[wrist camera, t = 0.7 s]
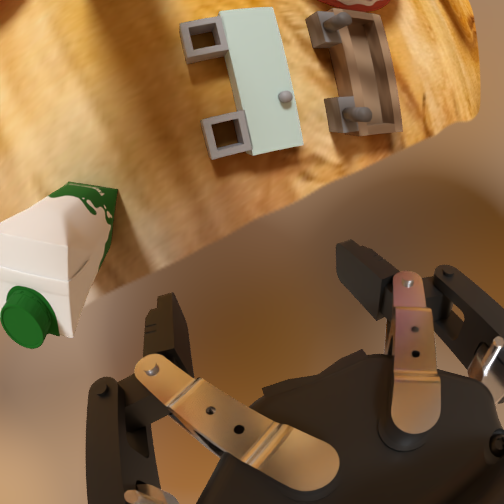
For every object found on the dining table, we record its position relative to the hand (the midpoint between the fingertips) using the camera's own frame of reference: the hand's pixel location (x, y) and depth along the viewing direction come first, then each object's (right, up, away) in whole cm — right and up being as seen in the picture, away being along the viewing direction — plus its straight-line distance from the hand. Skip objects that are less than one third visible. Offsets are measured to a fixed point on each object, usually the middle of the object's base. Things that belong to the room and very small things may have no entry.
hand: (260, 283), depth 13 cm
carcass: (+13, +26, +17) cm, 34 cm away
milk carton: (-21, +7, +17) cm, 28 cm away
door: (-2, +21, +15) cm, 26 cm away
